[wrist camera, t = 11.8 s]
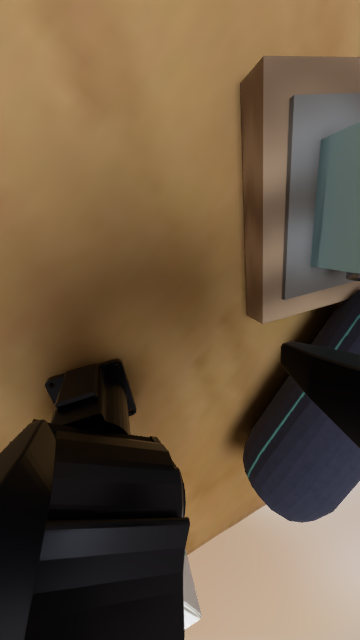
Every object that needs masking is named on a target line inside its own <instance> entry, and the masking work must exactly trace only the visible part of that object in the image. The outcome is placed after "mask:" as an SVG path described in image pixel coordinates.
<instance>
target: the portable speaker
mask: <svg viewBox="0 0 360 640" xmlns="http://www.w3.org/2000/svg"><path fill="white" fill-rule="evenodd" d="M311 345H315V346H320V347H325V348H331V349H336V350H341V351H346V352H351V353H356V354H360V291H358V292H356V293H355V294H353V295H352V296H351V297H350V298H349V299H348V300H345V301H344V302H343V303H342V304H341V305H340V306H339V307H338V308H337V309H336V310H335V311H334V312H333V314H332V315H331V316H330V318H329V319H328V321H327V322H326V323H325V325H324V326H323V328H322V329H321V331H320V332H319V334H318V335H317V336H316V338H315V339H314V341H313V342H312V344H311ZM243 463H244V468H245V472H246V474H247V477H248V479H249V481H250V483H251V485H252V487H253V488H254V490H255V491H256V492H257V494H258V495H259V497H260V498H261V499H262V500H263V501H264V502H265V503H266V504H267V505H268V506H269V508H270V509H271V510H273V511H274V512H276V513H278V514H279V515H281V516H283V517H284V518H286V519H287V520H289V521H295V522H308V521H314V520H316V519H319V518H321V517H323V516H325V515H327V514H328V513H331V512H333V511H334V510H335V509H336V508H337V506H338V505H339V504H340V503H341V502H342V501H343V499H344V498H345V497H346V496H347V495H348V494H349V493H350V491H351V490H352V489H353V488H354V487H355V486H356V484H357V483H358V482H359V481H360V449H359V448H358V447H357V446H356V445H355V444H354V443H353V442H352V441H351V440H350V438H349V437H348V436H347V435H346V434H345V433H344V432H343V431H342V430H341V429H340V428H339V427H338V426H337V425H336V424H335V423H334V422H333V421H332V420H331V419H330V418H329V417H328V416H327V415H326V414H325V413H324V412H323V411H322V410H321V409H320V408H319V407H318V406H317V405H316V404H315V403H314V402H313V401H312V400H311V399H310V398H309V397H308V396H307V395H306V394H305V393H304V392H303V390H302V389H301V388H300V387H299V386H298V384H297V383H296V382H295V381H294V379H293V378H292V377H291V376H290V375H289V377H288V378H287V379H286V381H285V382H284V384H283V385H282V387H281V388H280V390H279V391H278V392H277V394H276V395H275V397H274V398H273V400H272V401H271V402H270V404H269V405H268V407H267V408H266V410H265V411H264V413H263V414H262V415H261V417H260V418H259V420H258V421H257V423H256V424H255V425H254V427H253V428H252V430H251V432H250V435H249V437H248V439H247V442H246V444H245V447H244V454H243Z"/></svg>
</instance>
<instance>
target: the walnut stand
mask: <svg viewBox="0 0 360 640" xmlns="http://www.w3.org/2000/svg"><path fill="white" fill-rule="evenodd" d="M240 84H241V120H242V156H243V192H244V228H245V263H246V299H247V315H248V316H250V317H251V318H253V319H255V320H257V321H258V322H260V323H262V324H264V323H268V322H271V321H275V320H278V319H282V318H285V317H289V316H292V315H296V314H299V313H303V312H306V311H310V310H313V309H317V308H320V307H324V306H327V305H330V304H334V303H337V302H341V301H344V300H348V299H349V298H350V297H351V296H352V295H353V294H355V293H356V292H358V291H360V281H352V280H348V279H346V272H345V271H338V270H331V269H324V268H318V267H311V266H310V262H311V250H312V239H313V227H314V215H315V203H316V192H317V180H318V168H319V156H320V145H321V139H323V138H325V137H328V136H330V135H332V134H334V133H336V132H338V131H341V130H343V129H345V128H347V127H349V126H352V125H354V124H356V123H358V122H360V57H300V56H263V57H262V59H261V60H260V61H259V62H258V63H257V64H256V66H255V67H254V68H253V69H252V70H251V71H250V73H249V74H248V75H247V76H246V77H245V79H244V80H243V81H242V82H241V83H240Z"/></svg>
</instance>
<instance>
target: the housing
mask: <svg viewBox="0 0 360 640" xmlns="http://www.w3.org/2000/svg"><path fill="white" fill-rule="evenodd" d="M310 266H311V267H318V268H324V269H331V270H338V271H345V272H346V279H348V280H352V281H360V122H358V123H356V124H354V125H352V126H349V127H347V128H345V129H343V130H341V131H338V132H336V133H334V134H332V135H330V136H328V137H325V138H323V139H321V145H320V156H319V168H318V180H317V192H316V203H315V215H314V227H313V239H312V250H311V262H310Z"/></svg>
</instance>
